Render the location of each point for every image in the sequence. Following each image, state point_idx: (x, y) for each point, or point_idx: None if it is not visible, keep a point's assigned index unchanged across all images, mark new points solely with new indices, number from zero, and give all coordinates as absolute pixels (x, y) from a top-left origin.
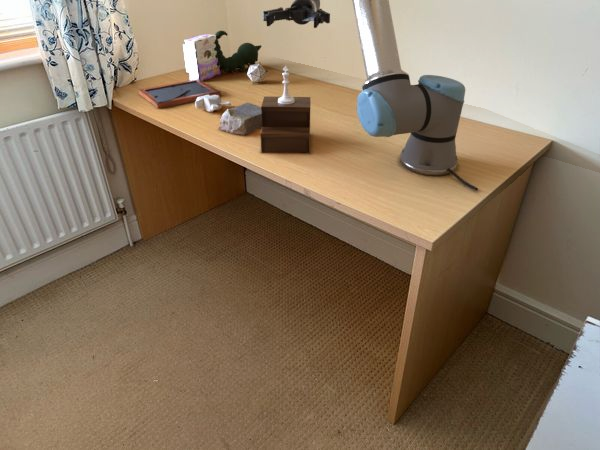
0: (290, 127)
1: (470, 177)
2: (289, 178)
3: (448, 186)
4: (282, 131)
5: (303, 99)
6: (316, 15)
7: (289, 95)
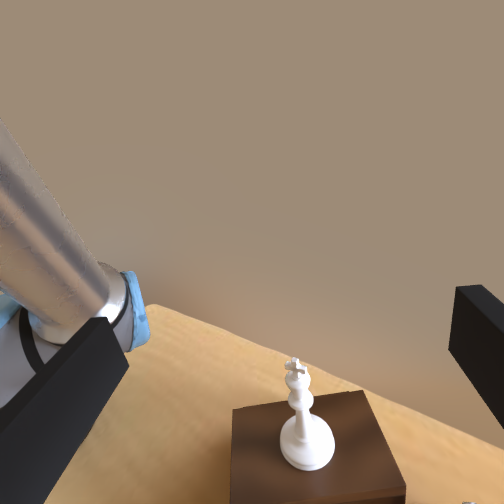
0: None
1: None
2: (275, 353)
3: None
4: None
5: (254, 474)
6: (38, 383)
7: (294, 432)
